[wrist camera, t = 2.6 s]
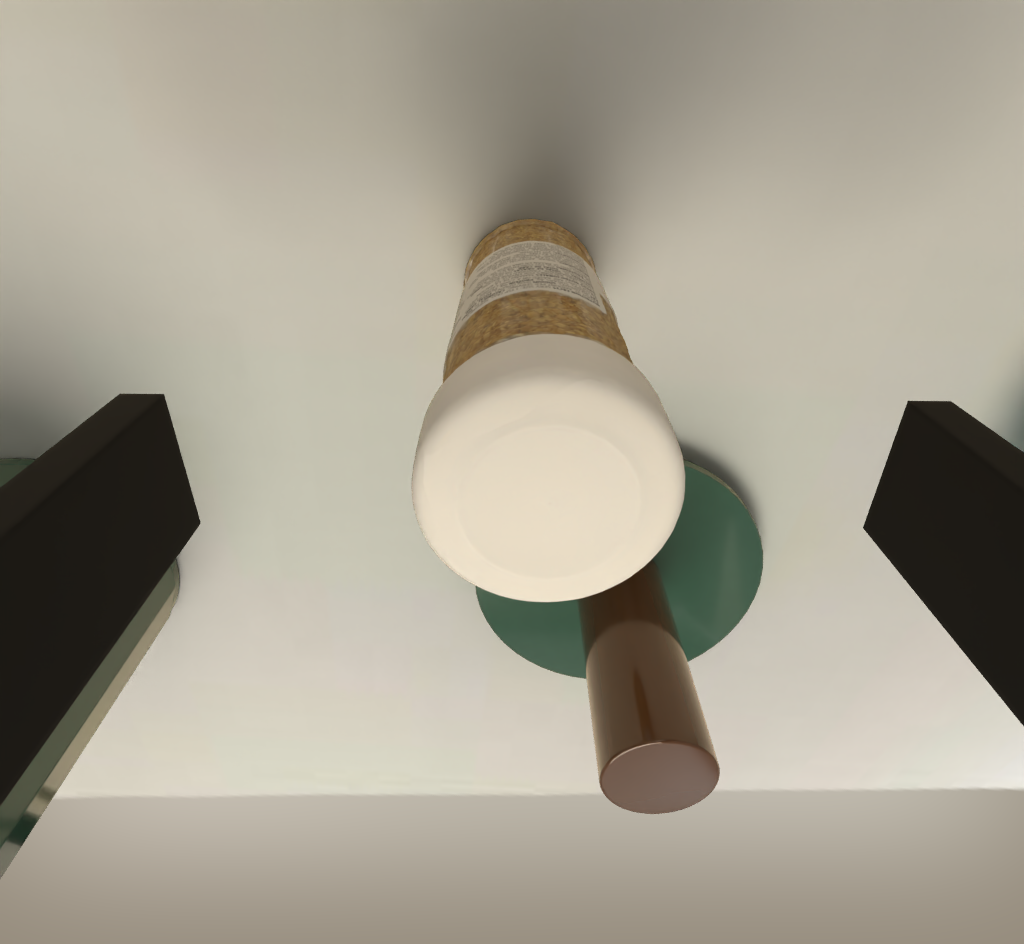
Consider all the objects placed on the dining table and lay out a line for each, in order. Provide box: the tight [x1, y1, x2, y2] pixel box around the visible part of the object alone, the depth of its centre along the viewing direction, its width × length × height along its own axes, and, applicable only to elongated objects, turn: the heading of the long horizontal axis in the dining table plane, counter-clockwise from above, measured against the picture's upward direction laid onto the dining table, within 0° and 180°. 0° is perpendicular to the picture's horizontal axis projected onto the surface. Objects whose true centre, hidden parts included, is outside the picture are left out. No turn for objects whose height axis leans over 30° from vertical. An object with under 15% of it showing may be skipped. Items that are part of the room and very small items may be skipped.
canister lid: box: [476, 460, 763, 814], centre depth 24 cm, size 12×12×10 cm
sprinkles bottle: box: [412, 219, 685, 602], centre depth 16 cm, size 5×5×14 cm
